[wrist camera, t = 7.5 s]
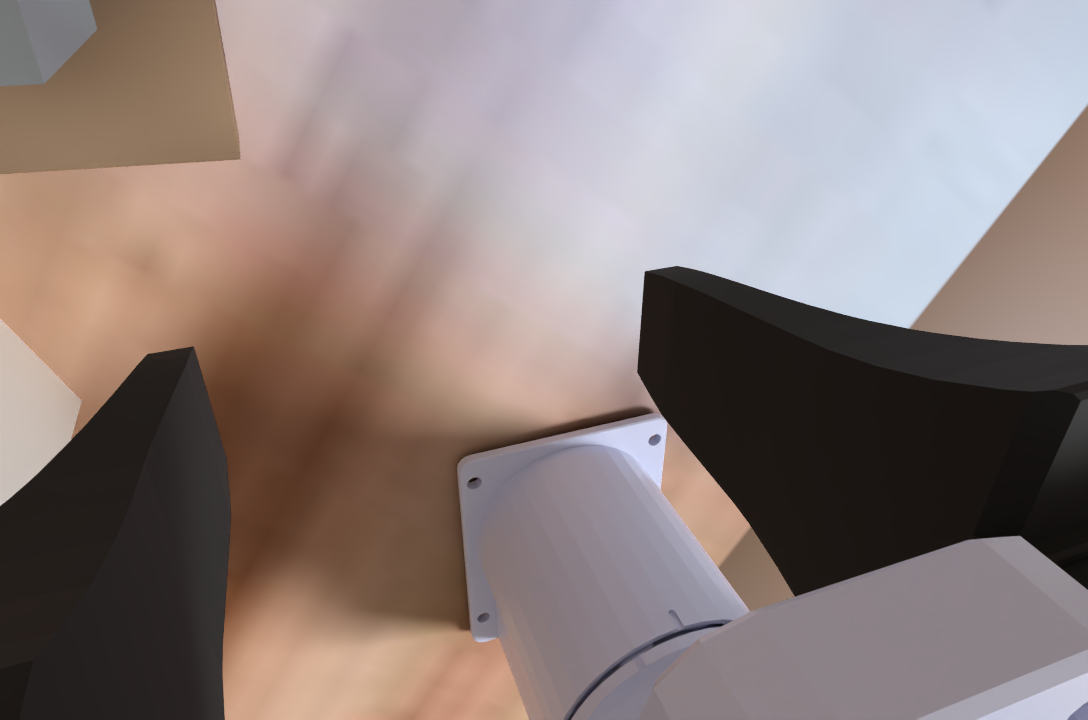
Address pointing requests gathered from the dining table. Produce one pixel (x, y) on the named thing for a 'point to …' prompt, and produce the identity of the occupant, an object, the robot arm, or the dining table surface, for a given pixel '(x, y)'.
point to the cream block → (30, 413)
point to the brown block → (128, 95)
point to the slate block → (40, 37)
